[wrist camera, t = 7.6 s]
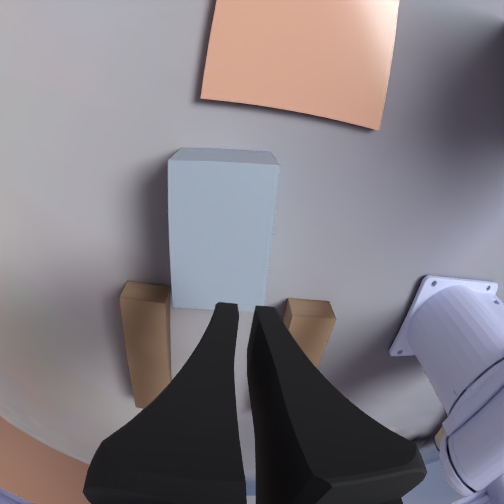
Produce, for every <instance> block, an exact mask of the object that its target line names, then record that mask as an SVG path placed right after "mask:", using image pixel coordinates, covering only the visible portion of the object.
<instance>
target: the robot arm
mask: <svg viewBox="0 0 504 504" xmlns="http://www.w3.org/2000/svg"><path fill="white" fill-rule="evenodd" d="M433 281H434V282H433ZM432 282H433V283H432ZM431 283H432V284H431ZM497 289H498V284H497V283H496V282H490V281H480V280H470V279H460V278H450V277H440V276H431V275H428V276H426V277H424V278H423V280H422V282H421V285H420V287H419V289H418V292H417V294H416V296H415V298H414V301H413V303H412V305H411V307H410V309H409V312H408V314H407V316H406V318H405V320H404V322H403V324H402V326H401V328H400V330H399V332H398V334H397V336H396V338H395V340H394V342H393V344H392V346H391V348H390V350H389V353H390V355H391V356H410V355H415V356H416V357H417V359H418V361H419V363H420V364H421V366H422V368H423V370H424V372H425V373H426V375H427V377H428V379H429V381H430V383H431V384H432V386H433V388H434V390H435V392H436V394H437V396H438V398H439V400H440V402H441V403H442V405H443V407H444V409H445V411H446V413H447V415H448V418H447V419H446V420H445V421H444V422H443V423H442V425H443V427H444V429H445V432H446V435H445V436H444V437H443V438H442V440H441V443H440V464H441V468H442V471H443V473H444V476H445V477H446V479H447V481H448V483H449V484H450V485H451V487H453V489H454V490H456V491H457V492H458V493H460V494H461V495H463V496H464V498H462V499H460V500H458V501H456V502H453V503H451V504H504V303H503V302H502V301H501V300H500V299H499V298H498V297H497V296H496V295H495V293H496V291H497ZM238 321H239V312H238V304H235V303H225V302H218V303H217V304H215V310H214V313H213V316H212V318H211V321H210V323H209V325H208V327H207V329H206V331H205V333H204V335H203V337H202V338H201V340H200V342H199V344H198V345H197V347H196V348H195V350H194V351H193V353H192V354H191V356H190V358H189V359H188V360H187V362H186V363H185V365H184V366H183V367H182V369H181V370H180V371H179V372H178V374H177V375H176V376H175V377H174V379H173V380H172V381H171V382H170V383H169V384H168V385H167V387H166V388H165V389H164V390H163V391H162V392H161V393H160V394H159V395H158V396H157V397H156V398H155V399H154V400H153V401H152V402H151V403H150V404H149V405H148V406H147V407H146V408H144V409H143V410H142V411H141V412H140V413H139V414H138V415H137V416H135V417H134V418H133V419H132V420H131V421H129V422H128V423H127V424H126V425H124V426H123V427H121V428H120V429H119V430H117V431H116V432H115V433H113V434H112V435H110V436H109V437H108V438H106V439H105V440H103V441H102V443H101V444H100V446H99V448H98V449H97V451H96V453H95V455H94V457H93V459H92V461H91V464H90V466H89V468H88V472H87V476H86V480H85V484H84V489H83V493H84V495H85V497H86V498H87V500H88V501H89V502H90V503H91V504H247V503H246V502H247V500H246V481H245V475H244V469H243V462H242V455H241V448H240V440H239V431H238V421H237V411H236V397H235V381H234V356H235V347H236V338H237V330H238ZM247 377H248V386H249V394H250V401H251V409H252V416H253V424H254V433H255V458H256V504H403V502H402V499H401V497H402V496H404V495H405V494H407V493H408V492H409V491H411V490H412V489H413V488H414V487H416V486H417V485H418V484H419V483H420V482H421V481H423V479H424V478H425V476H426V474H427V471H426V467H425V465H424V462H423V459H422V456H421V454H420V452H419V450H418V447H417V445H416V444H415V443H413V442H411V441H409V440H407V439H406V438H404V437H402V436H400V435H398V434H396V433H395V432H393V431H391V430H389V429H388V428H386V427H384V426H383V425H381V424H380V423H378V422H377V421H375V420H374V419H372V418H371V417H369V416H368V415H367V414H365V413H364V412H363V411H361V410H360V409H359V408H358V407H356V406H355V405H354V404H353V403H352V402H350V401H349V400H348V399H347V398H345V397H344V396H343V395H342V394H341V393H340V392H339V391H338V390H337V389H336V388H335V387H334V386H333V385H332V384H331V383H330V382H329V381H328V380H327V379H326V378H325V377H324V376H323V375H322V374H321V373H320V372H319V370H318V369H317V368H316V367H315V366H314V364H313V363H312V362H311V361H310V360H309V358H308V357H307V356H306V354H305V353H304V352H303V350H302V349H301V348H300V346H299V345H298V343H297V342H296V341H295V339H294V338H293V336H292V335H291V333H290V332H289V330H288V329H287V327H286V325H285V324H284V322H283V321H282V319H281V317H280V316H279V314H278V312H277V311H276V309H275V308H274V307H269V306H257V305H256V306H255V311H254V317H253V322H252V327H251V332H250V337H249V342H248V348H247ZM0 504H34V503H32V502H29V501H27V500H25V499H23V498H20V497H18V496H16V495H14V494H12V493H10V492H8V491H6V490H4V489H2V488H0Z"/></svg>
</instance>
